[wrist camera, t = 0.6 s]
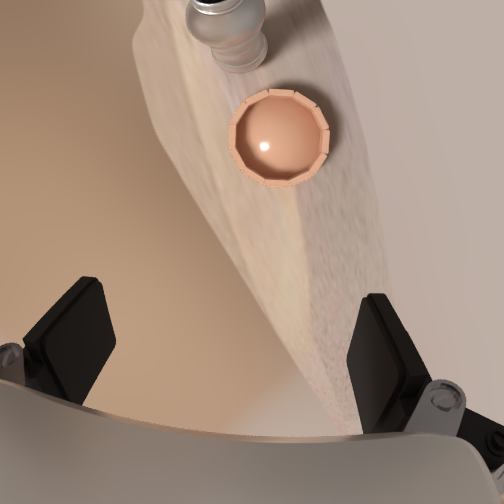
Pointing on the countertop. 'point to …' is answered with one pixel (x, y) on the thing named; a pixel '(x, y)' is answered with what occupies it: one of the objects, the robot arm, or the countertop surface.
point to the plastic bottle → (230, 31)
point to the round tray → (278, 138)
